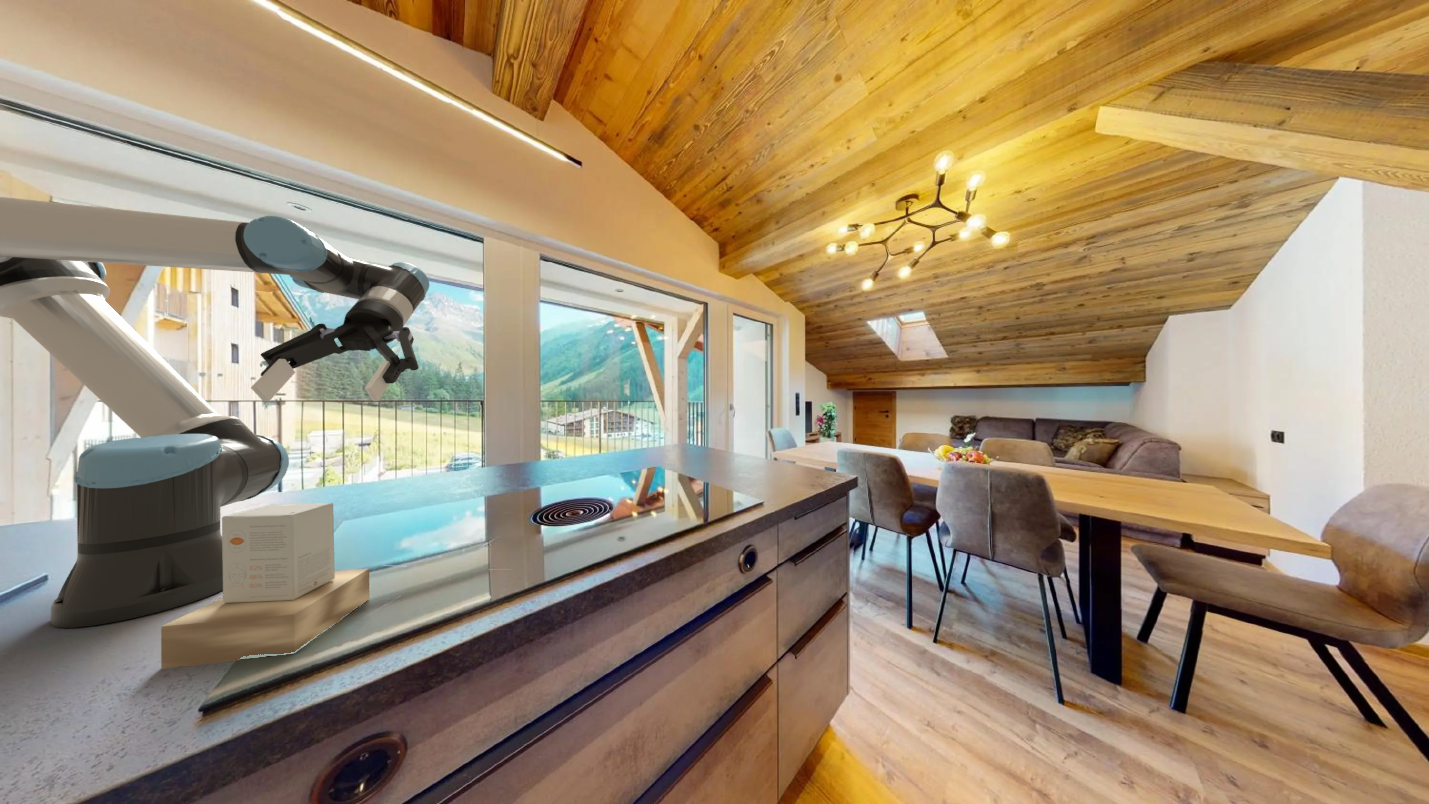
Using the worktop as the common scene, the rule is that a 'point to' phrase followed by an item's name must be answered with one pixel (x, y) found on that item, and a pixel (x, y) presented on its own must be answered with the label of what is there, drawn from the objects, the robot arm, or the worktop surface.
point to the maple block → (260, 623)
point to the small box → (277, 552)
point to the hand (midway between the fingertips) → (317, 394)
